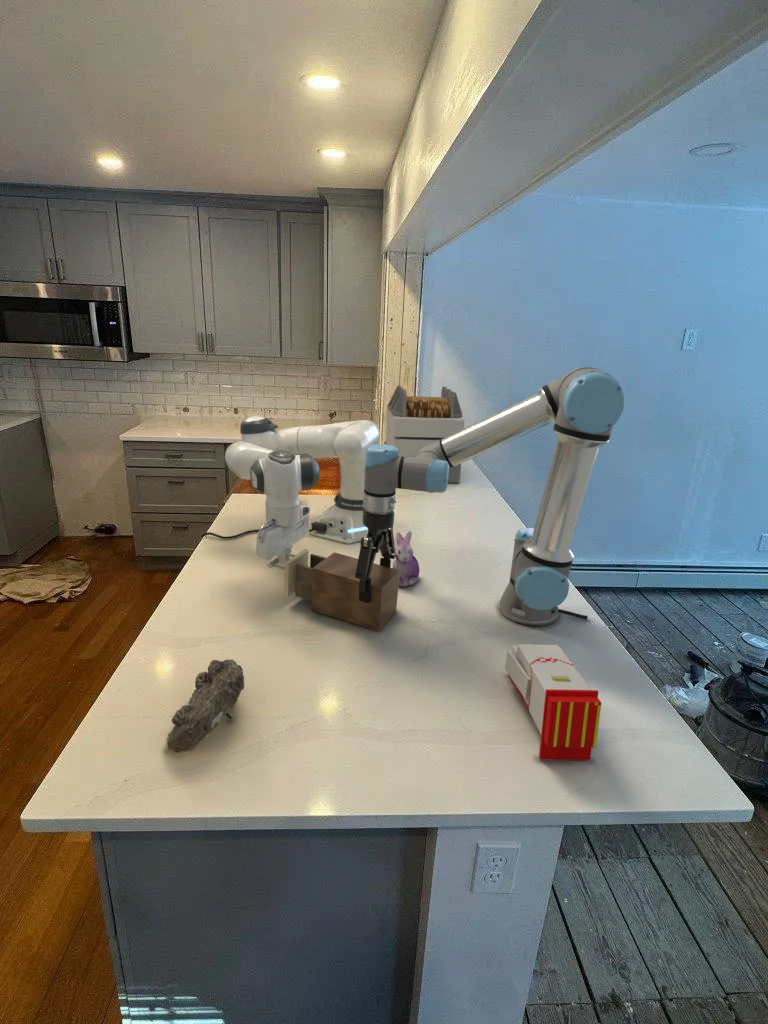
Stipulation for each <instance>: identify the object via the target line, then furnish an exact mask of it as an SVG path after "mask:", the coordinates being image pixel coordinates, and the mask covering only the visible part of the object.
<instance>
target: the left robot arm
mask: <svg viewBox="0 0 768 1024" xmlns="http://www.w3.org/2000/svg"><path fill="white" fill-rule="evenodd" d="M239 427H240V428H239V433H240V435H241V441H236V442H233V443H231V444H230V445H229V446H228V447H227V448H226V450H225V453H224V461H225V465H226V466H227V468H228V469H229V471H230V472H231V473H232V474H234V475H235V476H236V477H238V478H239V479H243V480H247V481H248V480H249V481H250V486H251V488H252V489H253V490H254V491H256V492H257V493H259V494H261V495H265V496H266V500H265V521H266V522H265V523H263V524H262V525H261V527H260V529H250V530H246V531H242V532H241V533H238V534H234V535H229V536H224V535H220V534H217V533H214V532H211V531H209V532H204V533H203V534H202V535H200V537H201V538H204V537H205V536H213V537H215V538H219V539H224V540H230V539H236V538H238V537H241V536H243V535H246V534H251V533H257V535H256V545H255V547H256V548H255V555H256V557H257V558H258V559H261V560H263V561H270V560H272V559H273V558H275V557H276V558H278V560H279V563H278V564H279V565H284V566H285V562H286V561H287V560H289V559H291V557H290V554H292V552H293V546H294V545H295V544H297V543H298V542H300V541H302V540H303V539H305V538H306V537H308V535H309V533H311V536H315V537H319V538H323V539H326V540H330V541H336V542H339V543H343V544H352V543H357V542H361V538H362V537H364V538H366V537H367V533H368V528H367V527H366V526H364V525H363V510H364V508H363V499H364V480H365V467H364V465H365V461H366V451H367V449H368V448H369V447H370V446H372V445H377V444H379V441H380V438H381V430H380V428H379V426H378V425H377V424H376V423H375V422H374V421H372V420H367V419H358V420H349V421H341V422H335V423H328V424H317V425H301V426H291V427H287V428H283V429H280V430H276V429H278V428H279V425H277V424H274V422H273V420H271V419H269V418H267V417H266V416H265V417H264V416H261V415H260V416H259V415H253V416H249V417H248V418H246V419H244V420H242V422H241V423H240V426H239ZM333 457H337V462H338V465H339V473H340V488H339V489H340V490H339V491H338V492H337V494H336V495H335V496H334V497H333V502H334V504H333V505H331V506H329V507H328V508H326V509H325V510H323V512H321V514H320V515H319V517H318V521H314V522H311V529H310V512H311V506H310V505H308V504H303V503H301V500H300V497H299V492H300V491H311V490H312V489H313V488H314V487H315V486H316V485H317V484H318V482H319V480H320V477H321V476H320V475H321V470H320V465H319V463H318V461H317V460H316V459H326V458H327V459H328V458H333Z"/></svg>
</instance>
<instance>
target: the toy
mask: <svg viewBox="0 0 768 1024" xmlns="http://www.w3.org/2000/svg"><path fill="white" fill-rule="evenodd" d="M505 659H506V660H505V667H504V669H505V671H506V672H507V674H508V677H509V679H510V681H511V683H512V685H513V686H514V687H515V689H516V691H517V693H518V694H519V696H520V698H521V700H522V701H523V703H524V704H525V707H526V709H527V710H528V712H529V714H530V716H531V718H532V720H533V722H534V724H535V726H536V727H537V729H538V732H539V734H540V743H539V753H538V759H539V760H546V761H547V760H550V761H551V760H553V761H554V760H555V761H566V760H567V761H591V757H592V756H591V755H592V748H597V742H598V733H599V725H600V717H601V710H602V701H601V700H600V698H599V690H598V689H592V688H591V687H590V686H589V684H588V682H586V679H584V677H583V676H582V675H581V673H580V672H579V671H578V669H577V668H576V667H575V665H574V664H573V663H572V662H571V659H569V657H568V656H567V655H566V653H565V651H564V650H563V649H562V648H561V647H560V646H559V644H526V643H525V644H522V643H521V644H519V643H518V644H517V645H514V644H512V647H511V650H507V653H506V658H505Z"/></svg>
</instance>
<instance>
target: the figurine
mask: <svg viewBox="0 0 768 1024" xmlns="http://www.w3.org/2000/svg"><path fill="white" fill-rule="evenodd" d="M412 535H413V532H412V531H411V530H409V531H408V532H407V533H406V534H405V536H404V537H403V536H402V533H401V532H400V531H397V532H396V545H395V553H394V554H393V555H395V558H394V560H393V562H392V568H393V569H397V570H400V577H399V587H403V588H404V587H407V586H412V585H414V584H416V583H417V582H418V580H419V575H420V565H419V561H418V559H417V558H416V556H414V549H413V547H412V545H411V540H412Z"/></svg>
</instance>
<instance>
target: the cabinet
mask: <svg viewBox="0 0 768 1024" xmlns="http://www.w3.org/2000/svg"><path fill="white" fill-rule="evenodd" d="M325 558H326V559H324V560H323V561H322V562H320V563H319V564H318V565H316V566H315V567H313V575H312V600H311V601H310V602H311V603H310V610H311V611H314V612H317V613H320V614H323V615H327V616H330V617H333V618H336V619H339V620H341V621H345V622H347V623H351V624H354V625H357V626H361V627H365V628H368V629H370V630H373V631H377V632H379V631H381V630H382V628H383V627H384V626H385V624H387V622H388V621H389V620H390V619H391V617H392V616H393V615H394V614H396V612H397V605H398V596H399V587H400V586H399V577H400V570H397V569H393V567H386V566H382V565H380V563H375V562H374V563H373V567H372V570H371V574H370V578H371V593H370V603H366V602H362V601H359V582H360V579H357V578H355V574H356V568H357V563H358V558H356V557H353V556H350V555H345V554H342V553H338V552H332V553H331V554H330V555H328V556H326V557H325Z"/></svg>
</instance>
